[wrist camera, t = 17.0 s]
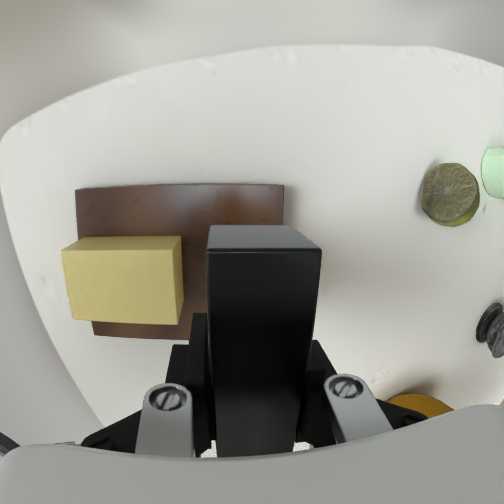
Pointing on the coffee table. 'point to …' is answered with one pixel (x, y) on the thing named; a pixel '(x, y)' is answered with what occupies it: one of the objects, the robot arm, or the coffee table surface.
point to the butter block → (125, 279)
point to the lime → (450, 194)
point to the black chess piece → (492, 329)
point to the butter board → (174, 232)
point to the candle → (494, 171)
